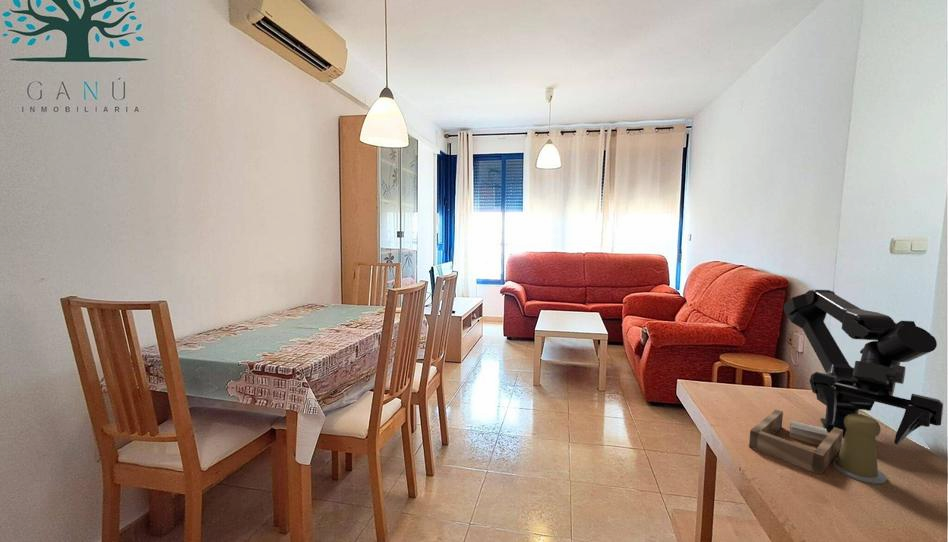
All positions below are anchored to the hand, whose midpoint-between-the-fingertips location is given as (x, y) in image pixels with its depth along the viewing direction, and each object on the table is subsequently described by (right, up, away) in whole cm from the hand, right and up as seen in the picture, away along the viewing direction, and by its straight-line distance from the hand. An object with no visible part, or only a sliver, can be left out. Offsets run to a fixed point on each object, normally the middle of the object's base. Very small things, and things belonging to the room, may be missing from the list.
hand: (861, 433), depth 77 cm
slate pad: (+1, -9, +2) cm, 9 cm away
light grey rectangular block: (+2, -7, +14) cm, 16 cm away
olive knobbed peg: (+1, -8, +2) cm, 8 cm away
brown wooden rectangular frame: (-4, -7, +11) cm, 14 cm away
